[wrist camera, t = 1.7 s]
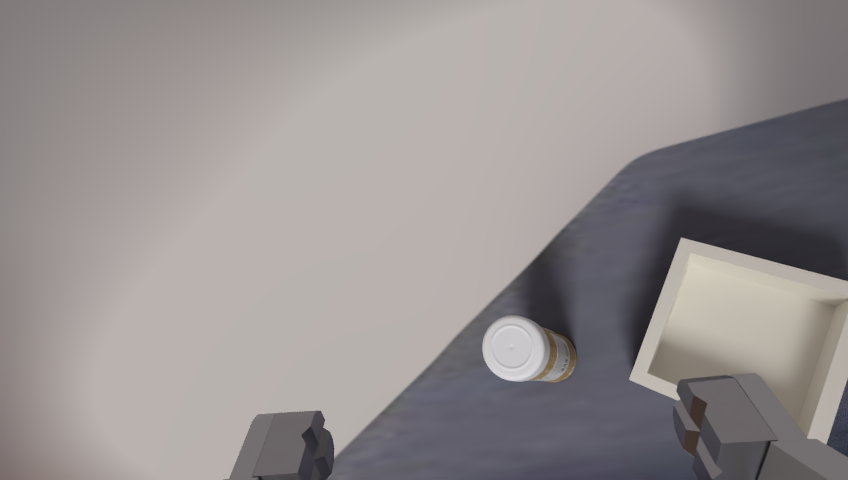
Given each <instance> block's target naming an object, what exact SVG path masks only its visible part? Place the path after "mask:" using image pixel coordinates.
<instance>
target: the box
mask: <svg viewBox="0 0 848 480" xmlns="http://www.w3.org/2000/svg"><path fill="white" fill-rule="evenodd" d="M749 373H756V374H757V375H759V376H760V377H761V378H762V379H763V380H764V382H765V383H766V384H767V386H768V387H769V388H770V390H771V391H772V392H773V393H774V395H775V396H776V397H777V399H778V400H779V401H780V403H781V404H782V405H783V407H784V408H785V409H786V411H787V412H788V413H789V414H790V416H791V417H792V418H793V420H794V421H795V422H796V424H797V425H798V426H799V428H800V429H801V430H802V432H803V433H804V434H805V435H806V437H807V438H808V439H818V440H819V441H821V442H823V443H824V444H827V441H828V438H829V435H830V432H831V428H832V425H833V422H834V419H835V416H836V413H837V410H838V407H839V404H840V401H841V397H842V394H843V391H844V388H845V385H846V382H847V379H848V281H845V280H841V279H837V278H833V277H829V276H826V275H822V274H818V273H814V272H810V271H807V270H803V269H799V268H795V267H791V266H788V265H784V264H780V263H776V262H772V261H769V260H765V259H761V258H757V257H753V256H750V255H746V254H742V253H738V252H734V251H730V250H727V249H723V248H719V247H715V246H711V245H708V244H704V243H700V242H696V241H692V240H689V239H685V238H681V239H680V242H679V245H678V247H677V250H676V253H675V256H674V258H673V261H672V264H671V267H670V269H669V272H668V275H667V277H666V280H665V283H664V286H663V288H662V291H661V294H660V297H659V299H658V302H657V305H656V307H655V310H654V313H653V316H652V318H651V321H650V324H649V327H648V329H647V332H646V335H645V337H644V340H643V343H642V346H641V348H640V351H639V354H638V357H637V359H636V362H635V365H634V367H633V370H632V373H631V376H630V378H629V380H631V381H633V382H636V383H638V384H640V385H643V386H645V387H647V388H650V389H652V390H654V391H657V392H659V393H661V394H664V395H666V396H668V397H671V398H673V399H675V400H678V401H679V400H680V397H679V395H678V393H677V392H676V390H677V385H678V382H679V381H680V380H681V379H690V378H700V377H710V376H720V375H728V376H729V375H737V374H749Z"/></svg>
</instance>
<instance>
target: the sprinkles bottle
mask: <svg viewBox="0 0 848 480" xmlns="http://www.w3.org/2000/svg"><path fill="white" fill-rule="evenodd" d="M482 351H483V356H484V359H485V362H486V364H487V365H488V367H489V368H490V369H491V371H492V372H493V373H495V374H496V375H497V376H499V377H501V378H503V379H506V380H510V381H527V380H536V381H548V382H559V381H562V380H564V379H566V378H567V377H569V376H570V375H571V373H572V372H573V371H574V368H575V365H576V361H577V358H576V351H575V349H574V347H573V345H572V343H571V342H570V341H569V340H568V339H567V338H566V337H564V336H562V335H560V334H558V333H554V332H553V331H551V330H549V329H546V328H543V327H540V326H539V325H538V324H537V323H535V322H534V321H532V320H530V319H528V318H525V317H522V316H517V315H509V316H505V317H502V318H499V319H498V320H496V321H495V322H494V323H492V324H491V325H490V327H489V328H488V329H487V331H486V333H485V335H484V338H483V344H482Z"/></svg>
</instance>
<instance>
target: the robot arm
mask: <svg viewBox="0 0 848 480" xmlns="http://www.w3.org/2000/svg"><path fill="white" fill-rule="evenodd" d="M676 392H677V393H678V395H679V397H680V400H679V401H678V402H677V403H675V404H674V409H673V420H674V427H675V430H676V433H677V436H678V439H679V441H680V443H681V445H682V447H683V449H684V450H686V451H687V452H688V453H690V454H691V455H692V456H694V457H695V458H694V463H693V470H694V472H695V474H696V476H697V478H698V480H848V457H846V456H845V455H843V454H841V453H840V452H838V451H836V450H834V449H833V448H831V447H829V446H828V445H826V444H824V443H823V442H821V441H819V440H818V439H808V438H807V437H806V435H805V434H804V433H803V432H802V430H801V429H800V428H799V426H798V425H797V424H796V422H795V421H794V420H793V418H792V417H791V416H790V414H789V413H788V412H787V411H786V409H785V408H784V407H783V405H782V404H781V403H780V401H779V400H778V399H777V397H776V396H775V395H774V393H773V392H772V391H771V390H770V388H769V387H768V386H767V384H766V383H765V382H764V380H763V379H762V378H761V377H760V376H759V375H757V374H756V373H749V374H737V375H729V376H728V375H720V376H710V377H700V378H690V379H681V380H680V381H679V382H678V385H677V390H676ZM324 421H325V419H324V417H323V415H322V413H321V411H305V412H287V413H273V414H258V415H257V416H256V417H255V419H254V420H253V421H252V424H251V426H250V429H249V431H248V434H247V436H246V438H245V441H244V444H243V446H242V449H241V451H240V454H239V456H238V458H237V461H236V463H235V466H234V468H233V471H232V473H231V476H230V478H229V479H225V480H326V479H327V478H328V476H329V475H330V474H331V473H332V468H333V463H334V445H333V439H332V436H331V434H330V432H329V431H328V430H326V429H324V428H323V425H324Z"/></svg>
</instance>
